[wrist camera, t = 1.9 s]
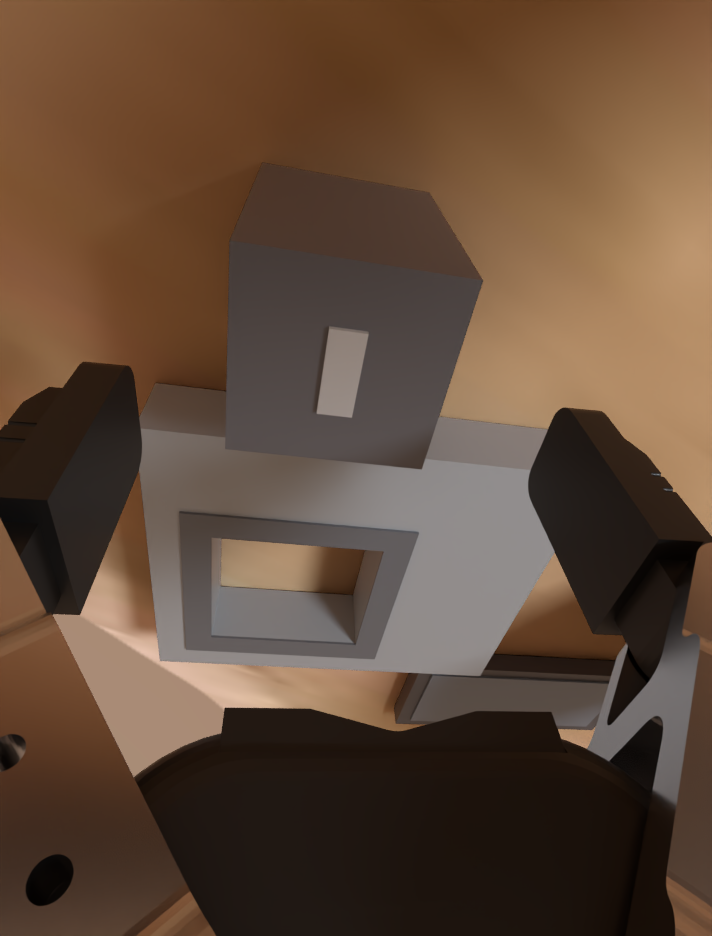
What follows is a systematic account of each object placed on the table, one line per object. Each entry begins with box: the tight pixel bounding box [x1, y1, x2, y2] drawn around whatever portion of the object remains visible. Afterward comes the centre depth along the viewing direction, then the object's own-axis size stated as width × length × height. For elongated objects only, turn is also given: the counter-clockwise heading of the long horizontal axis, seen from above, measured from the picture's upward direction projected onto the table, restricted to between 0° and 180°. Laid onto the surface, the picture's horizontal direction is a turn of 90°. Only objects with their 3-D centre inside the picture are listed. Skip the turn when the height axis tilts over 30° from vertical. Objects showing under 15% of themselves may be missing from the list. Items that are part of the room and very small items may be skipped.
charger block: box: [225, 163, 483, 469], centre depth 12 cm, size 4×4×6 cm
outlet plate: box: [139, 383, 555, 676], centre depth 21 cm, size 12×14×2 cm
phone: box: [394, 654, 616, 730], centre depth 30 cm, size 12×6×1 cm, turn 80°
